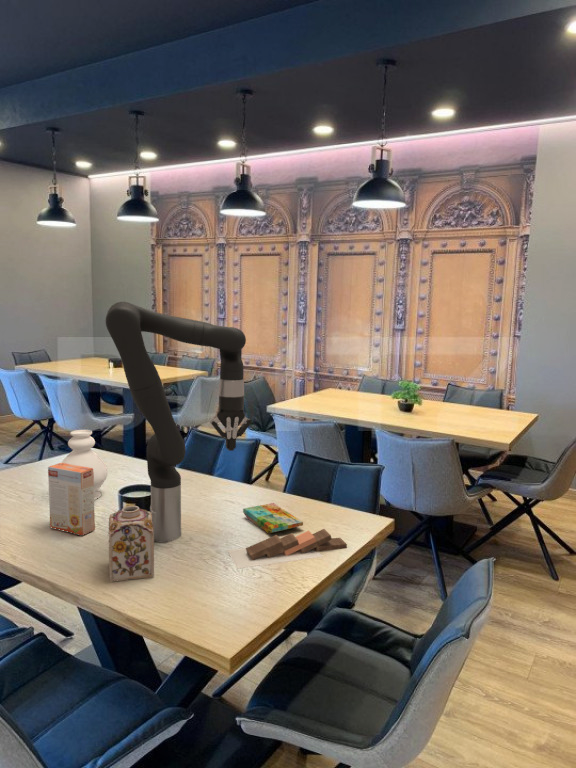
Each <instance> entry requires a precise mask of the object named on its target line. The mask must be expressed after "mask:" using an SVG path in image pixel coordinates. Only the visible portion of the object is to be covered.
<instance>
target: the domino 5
mask: <svg viewBox="0 0 576 768" xmlns="http://www.w3.org/2000/svg"><path fill="white" fill-rule="evenodd" d="M331 538H332V540H330V541H328V542H326V543H324V544H322V545H320V546H317V547H315V548H313V549H314V550H315V551H316V552H319V553H320V552H326V551H335V550H342V549H347V547H348V543H347V542H346V541H345V540H344V539H342V537H331Z"/></svg>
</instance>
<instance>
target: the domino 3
mask: <svg viewBox="0 0 576 768" xmlns="http://www.w3.org/2000/svg"><path fill="white" fill-rule="evenodd" d="M312 534H313V533H312V532H311V531H310V530H307V531H305V532H303V533H301V534H298V535H297V536H295V537H296V539H297V540H298V543H299V545H297V546H295V547H292V548H290V549H288V550H286V551H283V552H284V554H285V555H286V556H287V555H289V554H291V553H293V552H295V551H298V550H300V549H302V548H304V547H306V546H308V545H310V544H313V543H315V542H316V539H315V537H314V536H313V535H312Z"/></svg>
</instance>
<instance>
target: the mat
mask: <svg viewBox="0 0 576 768" xmlns="http://www.w3.org/2000/svg"><path fill="white" fill-rule="evenodd" d="M246 548H247V547H244V548H236V549H227V552H228V554H229V556H230V557H231V560H232V561H233V563H234V565H235V567H236V569H245V568H251V567H252V568H253V567H256V566H257V567H258V566H265V565H266V566H267V565H272V564H280V563H281V564H282V563H288V562H294V561H301V560H309V559H316V558H323V557H324V555H322V554H321V553H320V551H319V552H316V551H315V550H314V549H311V550H309V551H307V552H305V553H303V554H302V553H301V551H300V550H298V551H295V552H293V553H291V554H289V555H287V556H286V555H285V554H284V552H281V553H279V554H277V555H274V556H272V557H270V558H268V557H267V556H266V554H265V555H262V556H260V557H258V558H256V559H253V560H251V558H250V556H249V555H248V553H247V551H246Z"/></svg>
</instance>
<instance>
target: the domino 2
mask: <svg viewBox="0 0 576 768" xmlns="http://www.w3.org/2000/svg"><path fill="white" fill-rule="evenodd" d="M279 538H280V537H279ZM280 540H281V541H282V544H283V547H280V548H278V549H276V550H274V551H271V552H269V553H267V554H266V556H267V557H268V558H270V557H272V556H274V555H277V554H279V553H281V552H283V551H286V550H288V549H290V548H292V547H295V546H297V545H299V543H298V540H297V539H296V536H295V535H294V533H293V532H291V533H290V534H287V535H284V536H282V537H281V538H280Z"/></svg>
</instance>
